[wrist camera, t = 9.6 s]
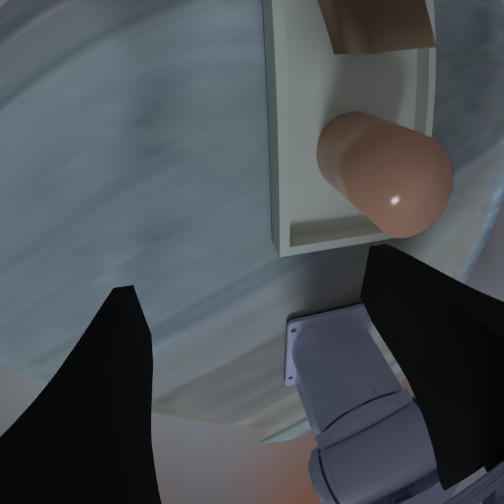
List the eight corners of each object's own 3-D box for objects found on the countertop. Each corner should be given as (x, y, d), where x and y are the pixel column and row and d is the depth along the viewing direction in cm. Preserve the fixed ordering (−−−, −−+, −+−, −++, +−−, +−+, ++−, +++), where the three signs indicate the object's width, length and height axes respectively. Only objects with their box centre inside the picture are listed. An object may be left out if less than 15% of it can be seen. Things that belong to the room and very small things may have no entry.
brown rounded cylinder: (385, 185, 19) (443, 229, 14) (316, 195, 18) (365, 246, 14) (389, 111, 16) (458, 136, 11) (314, 112, 16) (373, 136, 11)
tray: (401, 222, 22) (415, 234, 20) (272, 242, 20) (279, 257, 19) (414, -8, 12) (432, -10, 11) (259, -36, 11) (268, -47, 9)
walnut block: (391, 45, 14) (436, 47, 11) (334, 54, 14) (373, 53, 11) (373, -14, 12) (416, -25, 8) (313, -10, 12) (348, -27, 8)
